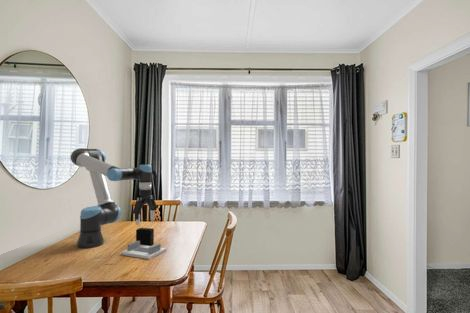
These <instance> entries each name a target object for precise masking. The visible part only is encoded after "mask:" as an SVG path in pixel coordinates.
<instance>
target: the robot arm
mask: <svg viewBox="0 0 470 313" xmlns="http://www.w3.org/2000/svg"><path fill="white" fill-rule="evenodd" d="M106 159H107V157H106V154H105V152H104V151H103V150H101V149H97V148H86V147H85V148H84V147H83V148H81V147H80V148H76V149H74V150H73V151H72V152H71V153H70V161H71V163H72V164H73V165H75V166H77V167H80V168H85V170H86V171H88V172H89V175H90V179H91V182H92V186H93V190H94V194H95V198H96V201H97V205H93V206H87V207H85V208H82V209H81V211H80V215H79V220H80V222H79V223H80V224H79V226H80V227H79V228H80V230H79V235H78V238H77V239H78V240H77V242H76V247H77V248H80V249H88V248H89V249H90V248H95V247H99V246H102V245H103V244H104V243H105V241H104V237H103V234H102V226H104V225H108V224H112V223H115V222H117V221H119V220H120V217H121V216H122V215H121V214H122V209H121V207H120V206H119V205H118V204H116V202H115V200H112V197H111V194H110V191H109V190H110V189H109V186H108V183H107V180H106V177H107V179H108V181H110V182H118V181H119V182H121V181H129V180H132V181H133V180H139V182H138V188H139V191H138V192H139V194H138V195H139V196H140V197H136V198H135V199H136V201H135V204H134V207H133V210H132V214H134V215H135V216H134V219H135V225H138V226H141V214H140V213H141V211H142V210H143V209H142V208H143V207H144V206H145V205H146V204H147V205H148V206H149V209H150V213H149V214H150V215H149V216H150V221H152V222H153V221H155V216H156V211H157V209H158V205H157V203H156V200H155V195H153V194H152V191H153V190H152V188H153V187H152V177H153V176H152V175H153V174H152V173H153V169H152V165H151V164H140V165H139V167H122V168H121V167H118V166H115V165H112V164H110V163H107V162H106Z"/></svg>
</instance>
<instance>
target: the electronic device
mask: <svg viewBox="0 0 470 313" xmlns="http://www.w3.org/2000/svg"><path fill="white" fill-rule="evenodd" d="M154 232H155V230H154V228H147V227H146V228H145V227H139V228H137V229H136V230H135V241H140V245H146V246H153V245H154V242H155V241H154V240H155V239H154V238H155V235H154Z"/></svg>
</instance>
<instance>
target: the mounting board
mask: <svg viewBox="0 0 470 313" xmlns="http://www.w3.org/2000/svg"><path fill="white" fill-rule="evenodd" d="M165 252H167V247H166V248H164V247H161V243H156V244H152V245H151V246H146V245H140V241H136V240H135V241H132V242H129V243H128V244H127V249H125V250H122V251H121V252H120V255H123V256H128V257H134V258H141V259H147V260H151V259H154V258H155V257H157V256H160V255H161V254H163V253H165Z"/></svg>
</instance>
